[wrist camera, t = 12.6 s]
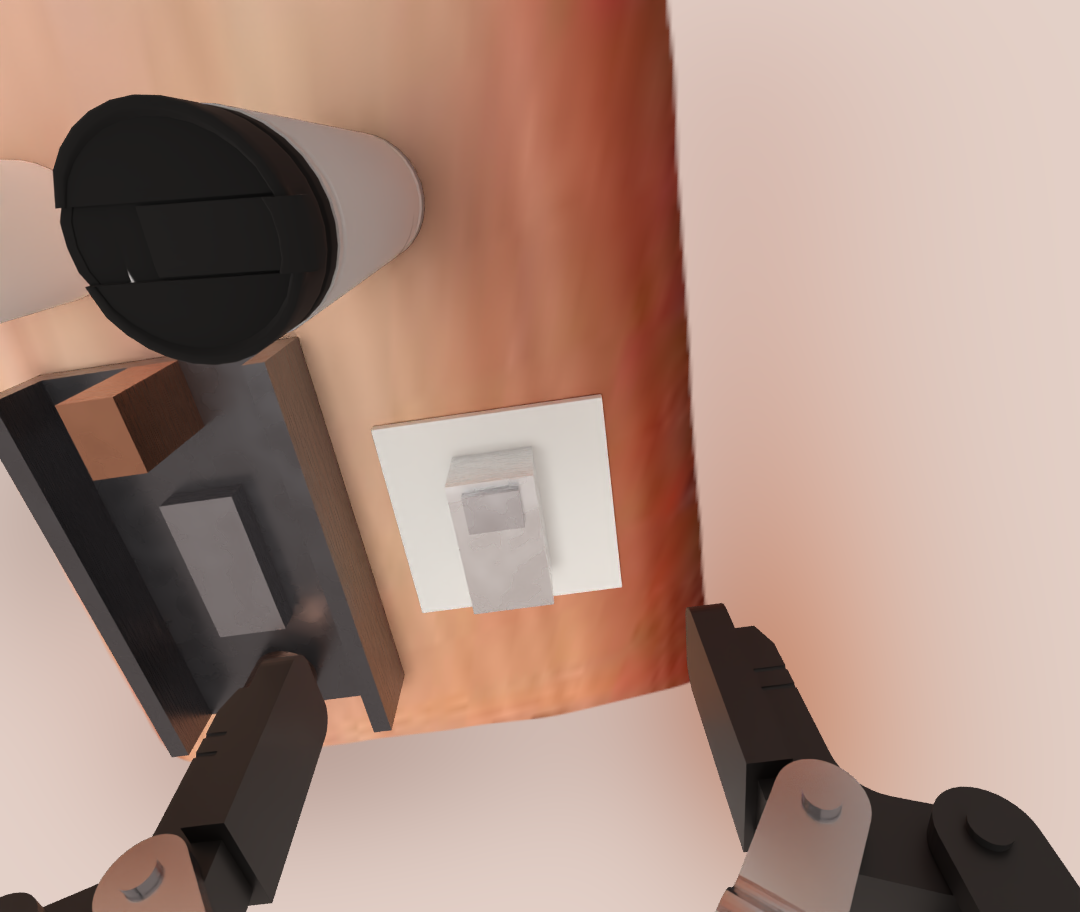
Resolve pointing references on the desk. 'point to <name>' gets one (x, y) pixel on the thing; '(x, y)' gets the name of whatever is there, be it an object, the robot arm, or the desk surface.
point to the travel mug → (225, 220)
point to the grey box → (500, 529)
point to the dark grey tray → (203, 529)
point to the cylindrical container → (33, 244)
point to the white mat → (563, 477)
